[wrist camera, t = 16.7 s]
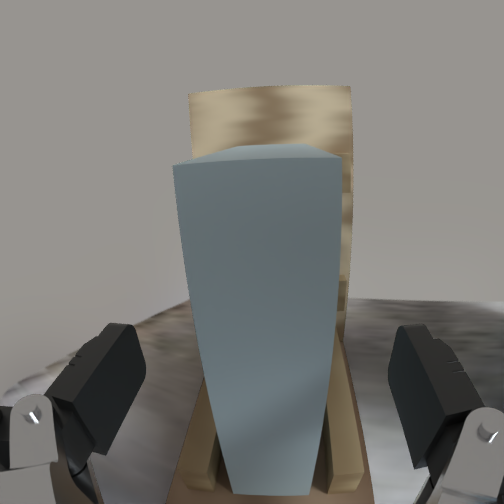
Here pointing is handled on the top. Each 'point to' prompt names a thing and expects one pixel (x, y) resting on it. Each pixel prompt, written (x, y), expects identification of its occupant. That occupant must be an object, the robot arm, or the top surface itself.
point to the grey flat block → (264, 302)
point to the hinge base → (340, 383)
